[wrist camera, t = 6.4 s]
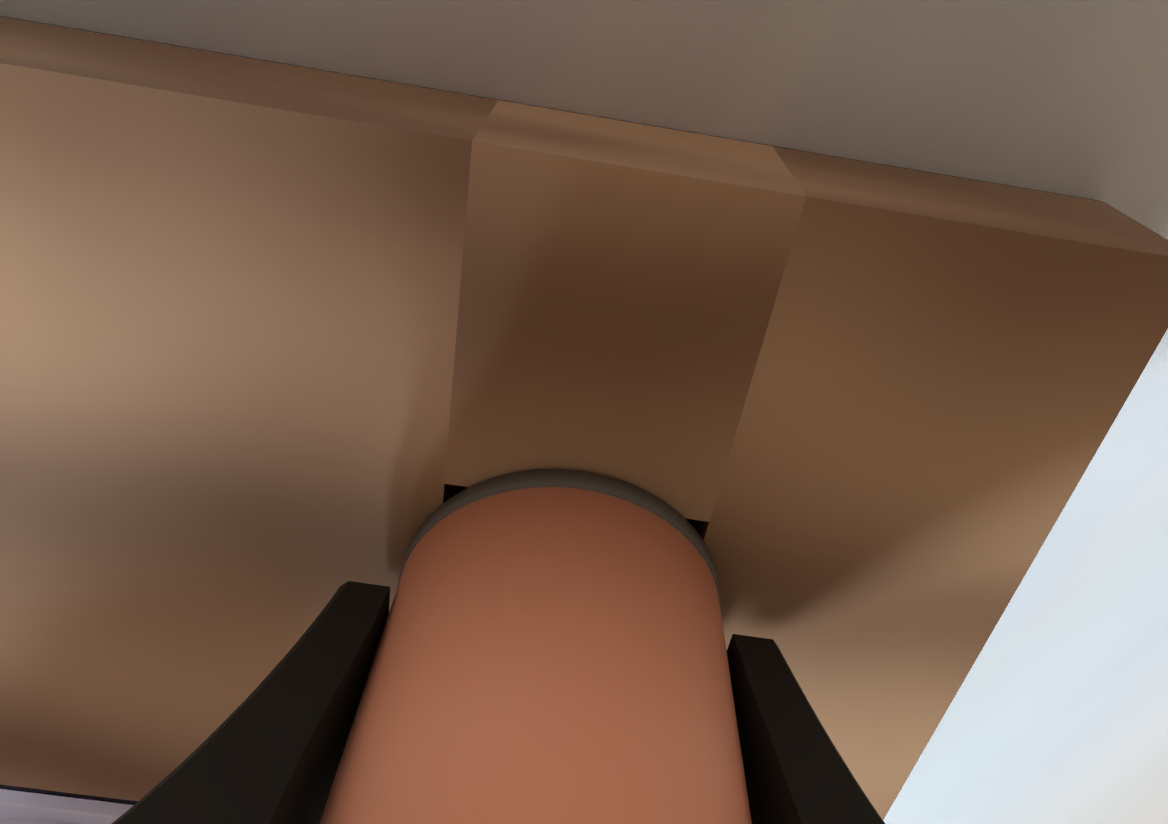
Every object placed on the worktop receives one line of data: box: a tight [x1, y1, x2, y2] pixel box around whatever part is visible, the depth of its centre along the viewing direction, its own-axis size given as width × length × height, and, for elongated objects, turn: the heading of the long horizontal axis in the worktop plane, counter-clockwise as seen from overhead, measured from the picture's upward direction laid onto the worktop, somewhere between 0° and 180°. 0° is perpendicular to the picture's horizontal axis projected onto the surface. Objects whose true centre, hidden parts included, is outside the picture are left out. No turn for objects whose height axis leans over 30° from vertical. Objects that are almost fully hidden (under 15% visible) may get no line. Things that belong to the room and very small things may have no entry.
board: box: [0, 16, 1168, 820], centre depth 14 cm, size 14×20×2 cm
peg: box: [319, 469, 752, 824], centre depth 11 cm, size 5×5×10 cm
